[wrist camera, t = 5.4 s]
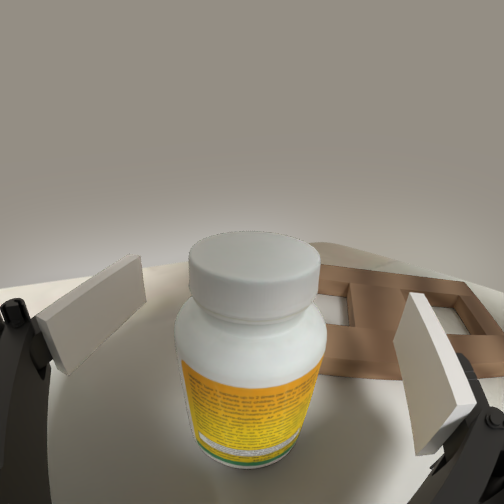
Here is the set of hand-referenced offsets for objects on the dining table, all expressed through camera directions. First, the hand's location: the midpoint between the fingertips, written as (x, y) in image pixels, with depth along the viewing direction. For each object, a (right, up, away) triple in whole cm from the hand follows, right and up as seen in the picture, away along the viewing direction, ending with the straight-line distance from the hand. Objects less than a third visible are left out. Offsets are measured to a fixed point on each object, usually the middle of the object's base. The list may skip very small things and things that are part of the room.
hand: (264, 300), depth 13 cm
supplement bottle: (-1, -7, -1) cm, 7 cm away
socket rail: (+10, -3, +9) cm, 13 cm away
